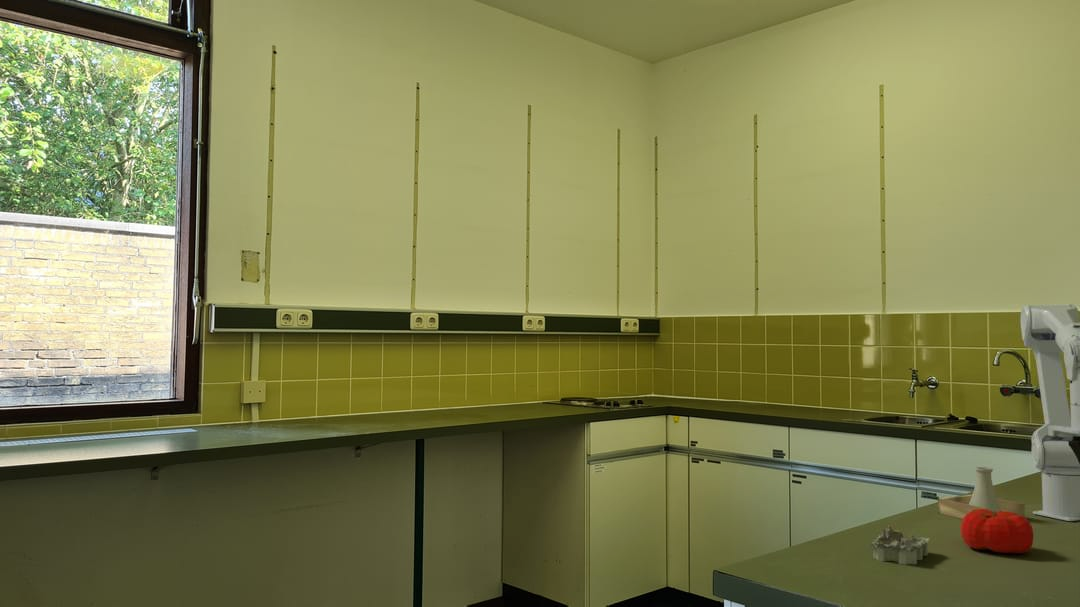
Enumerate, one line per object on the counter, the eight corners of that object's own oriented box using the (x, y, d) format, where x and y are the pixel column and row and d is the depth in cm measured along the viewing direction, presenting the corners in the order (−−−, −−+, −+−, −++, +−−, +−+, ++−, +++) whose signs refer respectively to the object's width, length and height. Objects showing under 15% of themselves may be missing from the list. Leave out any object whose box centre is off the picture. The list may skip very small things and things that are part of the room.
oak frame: (976, 508, 172) (975, 494, 172) (1025, 519, 161) (1024, 504, 162) (937, 513, 167) (937, 498, 168) (985, 524, 157) (985, 508, 157)
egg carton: (888, 548, 141) (888, 524, 141) (934, 555, 136) (934, 531, 136) (865, 559, 133) (865, 534, 133) (913, 568, 128) (912, 542, 128)
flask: (995, 513, 167) (993, 465, 167) (1012, 521, 160) (1011, 471, 160) (958, 513, 167) (957, 465, 168) (975, 521, 160) (973, 470, 161)
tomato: (960, 540, 145) (959, 504, 145) (1031, 547, 140) (1029, 509, 140) (962, 553, 136) (960, 514, 136) (1037, 561, 131) (1036, 520, 131)
